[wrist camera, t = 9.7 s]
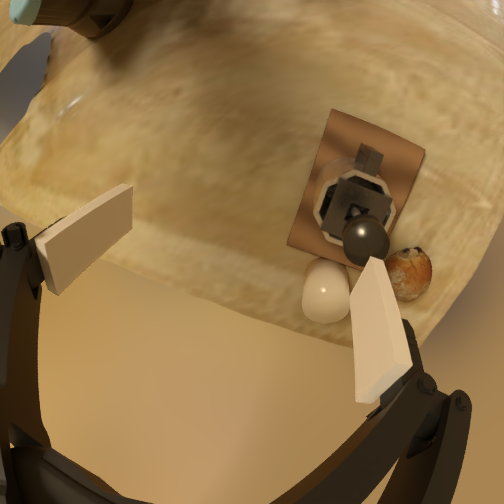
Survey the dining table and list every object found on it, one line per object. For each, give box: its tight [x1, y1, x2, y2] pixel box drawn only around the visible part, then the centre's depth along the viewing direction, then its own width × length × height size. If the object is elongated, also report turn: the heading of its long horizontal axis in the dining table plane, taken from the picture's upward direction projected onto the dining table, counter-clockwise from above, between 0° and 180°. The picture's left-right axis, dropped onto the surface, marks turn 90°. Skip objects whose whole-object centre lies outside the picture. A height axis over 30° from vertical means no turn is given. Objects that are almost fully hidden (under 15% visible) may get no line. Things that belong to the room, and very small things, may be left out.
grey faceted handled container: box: [313, 143, 396, 246], centre depth 34 cm, size 13×10×12 cm
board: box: [287, 109, 425, 271], centre depth 41 cm, size 24×16×1 cm, turn 166°
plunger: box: [325, 175, 389, 267], centre depth 31 cm, size 7×7×18 cm
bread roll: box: [384, 247, 432, 301], centre depth 43 cm, size 10×10×8 cm
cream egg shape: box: [301, 257, 350, 324], centre depth 46 cm, size 9×8×9 cm
